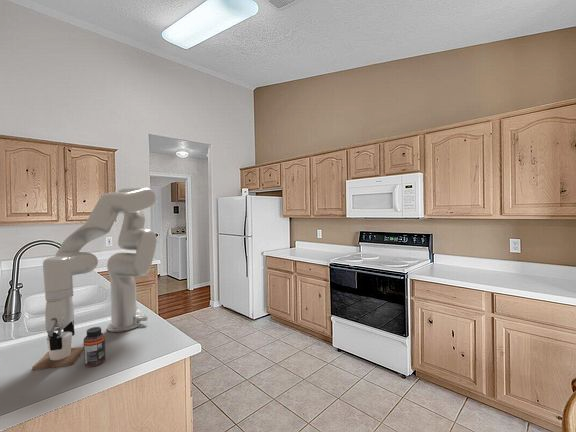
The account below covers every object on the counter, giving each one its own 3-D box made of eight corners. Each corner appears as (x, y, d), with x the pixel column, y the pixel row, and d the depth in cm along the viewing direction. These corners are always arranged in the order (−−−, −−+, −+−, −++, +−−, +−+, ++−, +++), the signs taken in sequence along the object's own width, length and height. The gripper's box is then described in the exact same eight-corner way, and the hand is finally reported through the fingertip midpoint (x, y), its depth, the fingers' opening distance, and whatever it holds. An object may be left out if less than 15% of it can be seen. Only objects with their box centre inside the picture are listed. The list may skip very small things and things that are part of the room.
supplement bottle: (91, 358, 101) (90, 325, 101) (109, 357, 101) (108, 325, 101) (80, 368, 95) (78, 333, 95) (99, 367, 96) (98, 332, 95)
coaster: (85, 349, 107) (85, 346, 107) (72, 364, 97) (72, 361, 97) (49, 353, 104) (49, 350, 104) (32, 370, 94) (32, 366, 94)
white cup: (77, 350, 104) (77, 330, 104) (63, 360, 97) (63, 339, 97) (57, 351, 104) (56, 331, 103) (42, 361, 97) (41, 340, 97)
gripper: (58, 286, 107) (61, 332, 109) (32, 303, 91) (36, 357, 92) (82, 284, 109) (85, 329, 111) (60, 301, 93) (64, 353, 94)
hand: (63, 342), depth 101 cm, fingers open, 9 cm apart
